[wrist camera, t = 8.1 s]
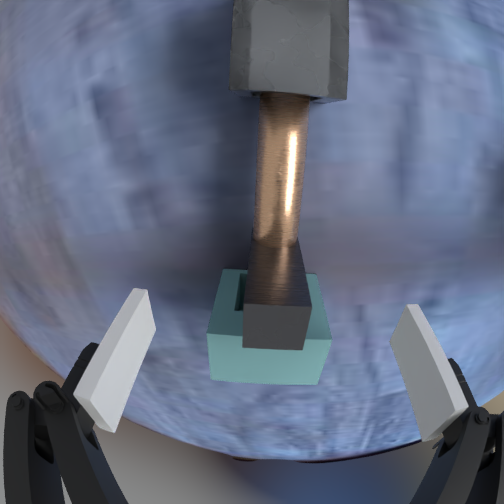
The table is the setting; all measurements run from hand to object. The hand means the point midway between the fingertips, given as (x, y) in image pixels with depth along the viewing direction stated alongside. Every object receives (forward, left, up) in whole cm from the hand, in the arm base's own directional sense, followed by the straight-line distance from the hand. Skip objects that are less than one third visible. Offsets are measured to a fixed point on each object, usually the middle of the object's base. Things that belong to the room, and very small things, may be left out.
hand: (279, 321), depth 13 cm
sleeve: (-15, 0, -10) cm, 18 cm away
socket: (+6, 0, -10) cm, 12 cm away
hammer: (-3, 0, -9) cm, 9 cm away
